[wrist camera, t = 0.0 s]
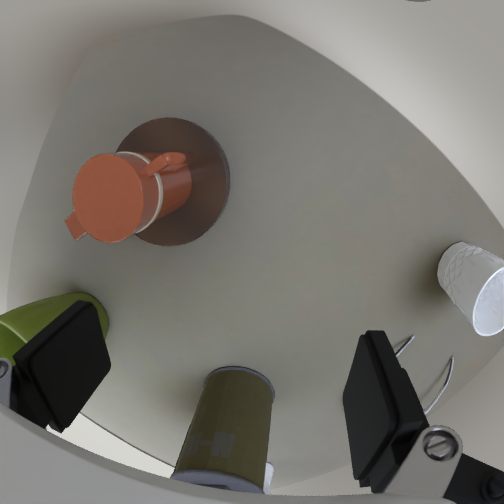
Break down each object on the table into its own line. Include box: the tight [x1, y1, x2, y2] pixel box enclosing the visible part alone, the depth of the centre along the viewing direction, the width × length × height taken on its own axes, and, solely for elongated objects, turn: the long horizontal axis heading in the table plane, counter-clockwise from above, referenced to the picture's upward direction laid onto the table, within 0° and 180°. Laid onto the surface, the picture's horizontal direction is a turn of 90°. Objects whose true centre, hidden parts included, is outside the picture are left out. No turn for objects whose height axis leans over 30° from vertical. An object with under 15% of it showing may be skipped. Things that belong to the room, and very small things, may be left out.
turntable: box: [116, 118, 230, 246], centre depth 30 cm, size 14×14×2 cm
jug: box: [65, 151, 195, 243], centre depth 24 cm, size 10×7×11 cm, turn 120°
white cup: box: [437, 242, 504, 336], centre depth 25 cm, size 8×8×10 cm
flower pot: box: [0, 293, 109, 366], centre depth 31 cm, size 15×15×16 cm
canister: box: [170, 367, 275, 494], centre depth 30 cm, size 11×10×20 cm
